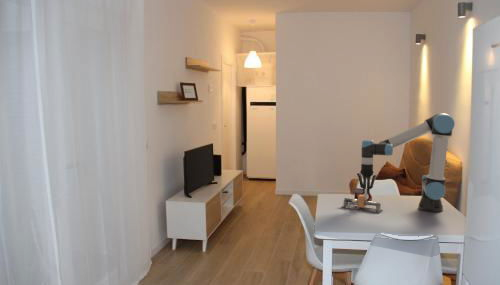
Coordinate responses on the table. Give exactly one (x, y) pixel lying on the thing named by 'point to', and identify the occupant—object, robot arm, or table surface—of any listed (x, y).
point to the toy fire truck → (360, 192)
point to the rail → (365, 209)
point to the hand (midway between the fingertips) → (366, 198)
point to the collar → (361, 201)
